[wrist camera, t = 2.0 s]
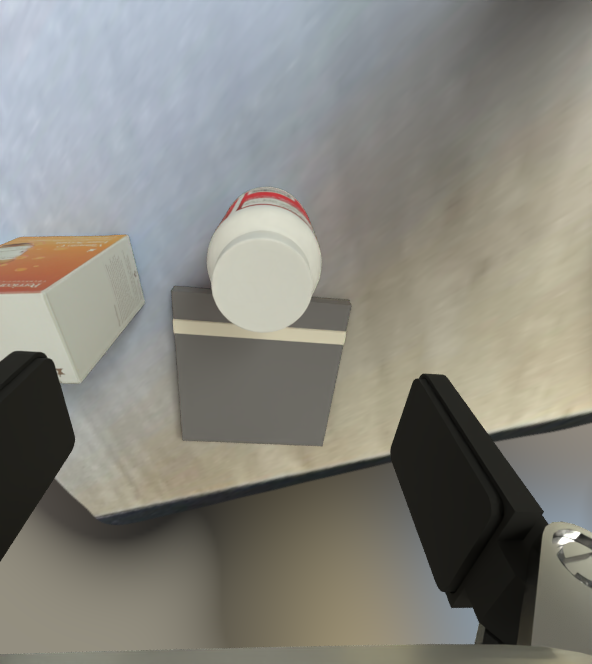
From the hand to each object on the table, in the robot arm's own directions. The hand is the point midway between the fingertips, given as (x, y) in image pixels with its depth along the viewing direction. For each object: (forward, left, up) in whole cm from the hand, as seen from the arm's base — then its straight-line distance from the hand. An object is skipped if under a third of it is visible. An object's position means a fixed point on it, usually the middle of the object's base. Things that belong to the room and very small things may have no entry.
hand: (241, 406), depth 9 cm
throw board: (+13, 0, -19) cm, 22 cm away
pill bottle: (0, 0, -19) cm, 19 cm away
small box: (+4, -13, -19) cm, 23 cm away
